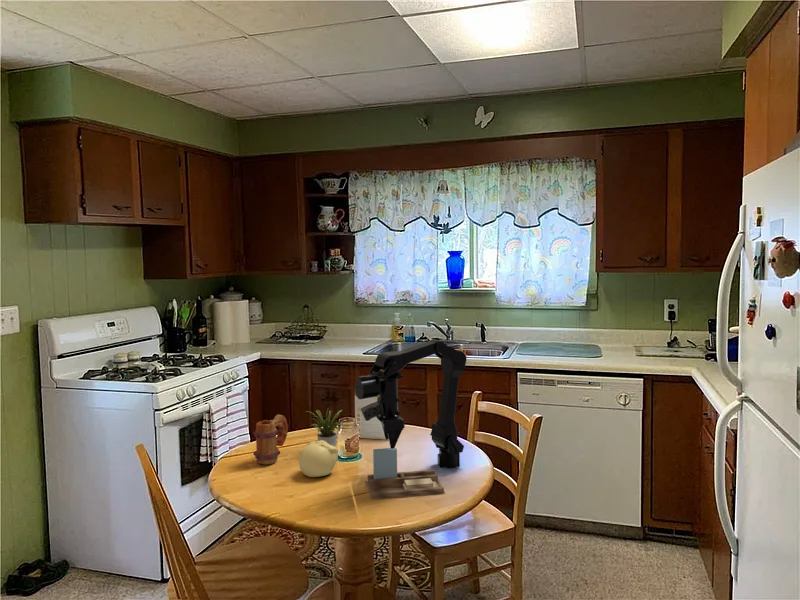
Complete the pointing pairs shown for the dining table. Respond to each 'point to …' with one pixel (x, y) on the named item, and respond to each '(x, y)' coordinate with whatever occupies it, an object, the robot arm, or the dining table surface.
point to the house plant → (327, 428)
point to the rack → (401, 485)
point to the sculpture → (318, 458)
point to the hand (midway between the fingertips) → (389, 443)
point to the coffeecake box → (371, 426)
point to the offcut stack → (419, 484)
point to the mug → (270, 439)
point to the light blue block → (385, 463)
